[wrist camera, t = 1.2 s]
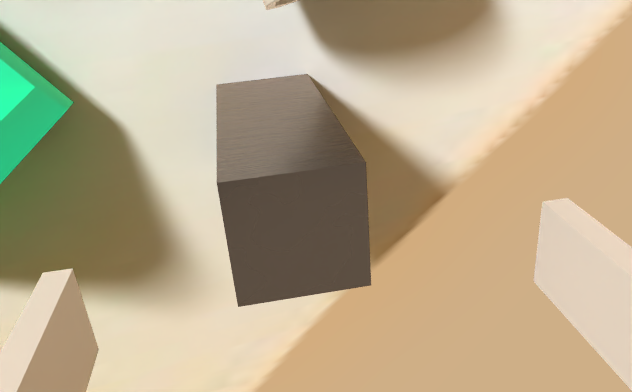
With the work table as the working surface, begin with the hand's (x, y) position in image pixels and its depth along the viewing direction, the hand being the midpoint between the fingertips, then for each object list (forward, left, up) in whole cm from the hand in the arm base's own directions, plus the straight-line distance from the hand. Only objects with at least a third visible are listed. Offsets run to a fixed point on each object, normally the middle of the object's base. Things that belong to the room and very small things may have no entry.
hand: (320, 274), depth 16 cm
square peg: (0, 0, -14) cm, 14 cm away
